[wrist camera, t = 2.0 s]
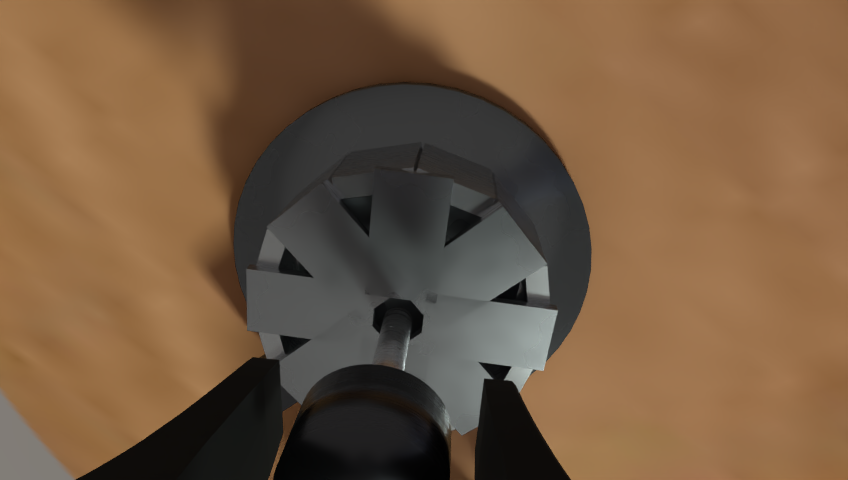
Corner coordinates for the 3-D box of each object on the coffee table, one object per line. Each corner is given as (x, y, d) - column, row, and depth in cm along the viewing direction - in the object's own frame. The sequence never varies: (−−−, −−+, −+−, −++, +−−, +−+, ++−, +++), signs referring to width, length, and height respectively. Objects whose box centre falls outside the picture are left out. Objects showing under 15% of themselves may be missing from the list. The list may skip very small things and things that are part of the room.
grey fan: (441, -6, 16) (433, -8, 12) (655, 292, 19) (699, 361, 16) (155, 241, 20) (84, 295, 16) (374, 456, 23) (356, 542, 19)
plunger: (406, 246, 15) (369, 396, 9) (477, 329, 16) (484, 515, 10) (319, 308, 16) (236, 479, 10) (391, 383, 17) (352, 581, 11)
